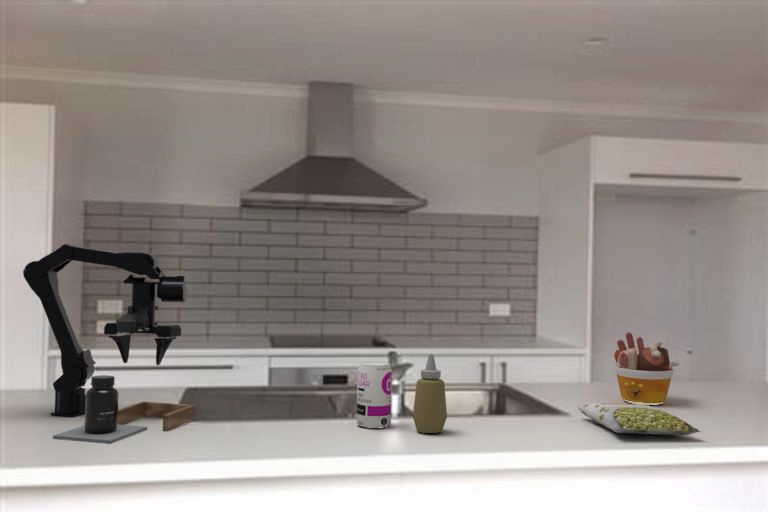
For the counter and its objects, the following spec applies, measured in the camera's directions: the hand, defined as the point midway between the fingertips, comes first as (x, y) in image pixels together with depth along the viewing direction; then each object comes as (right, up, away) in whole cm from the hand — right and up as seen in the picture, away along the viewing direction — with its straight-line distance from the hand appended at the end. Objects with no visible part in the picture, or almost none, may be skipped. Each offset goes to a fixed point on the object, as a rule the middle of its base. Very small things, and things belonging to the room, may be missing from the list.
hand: (141, 363), depth 185 cm
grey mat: (-2, -12, -22) cm, 26 cm away
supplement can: (+58, -14, -8) cm, 61 cm away
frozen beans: (+122, -16, -6) cm, 123 cm away
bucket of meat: (+137, -16, +33) cm, 142 cm away
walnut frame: (+6, -13, -11) cm, 18 cm away
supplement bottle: (-2, -12, -22) cm, 25 cm away
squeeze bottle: (+72, -14, -13) cm, 74 cm away
